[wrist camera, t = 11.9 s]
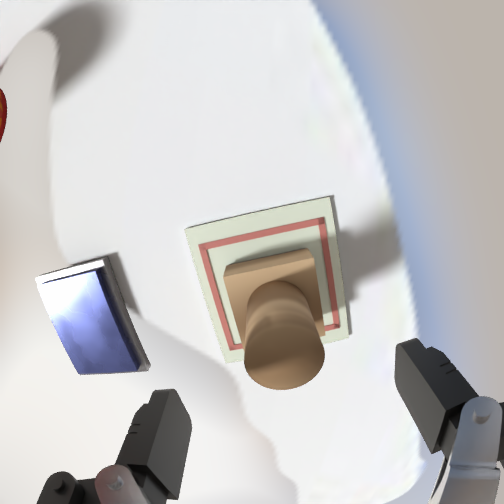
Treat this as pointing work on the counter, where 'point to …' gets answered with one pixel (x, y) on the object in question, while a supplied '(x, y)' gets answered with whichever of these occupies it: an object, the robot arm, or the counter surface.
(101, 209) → the counter surface
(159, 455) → the robot arm
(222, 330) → the print sheet
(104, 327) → the ink pad
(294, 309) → the stamp
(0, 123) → the canned food
